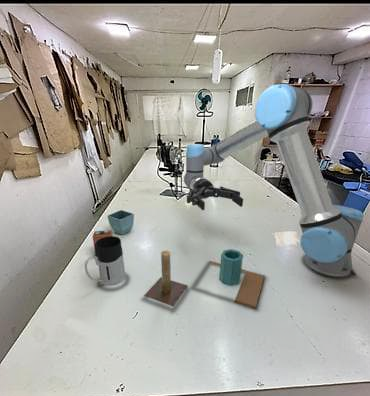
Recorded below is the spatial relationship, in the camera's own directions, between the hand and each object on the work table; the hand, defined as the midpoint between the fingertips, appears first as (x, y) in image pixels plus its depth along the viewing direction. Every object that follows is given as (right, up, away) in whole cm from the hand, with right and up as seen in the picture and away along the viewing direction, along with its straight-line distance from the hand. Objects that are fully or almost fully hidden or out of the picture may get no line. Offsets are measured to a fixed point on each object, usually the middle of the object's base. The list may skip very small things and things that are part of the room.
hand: (223, 204), depth 77 cm
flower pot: (-42, -11, +35) cm, 56 cm away
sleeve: (+2, -25, +1) cm, 25 cm away
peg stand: (-18, -28, -4) cm, 34 cm away
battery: (-44, -19, +18) cm, 51 cm away
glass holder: (-37, -27, 0) cm, 46 cm away
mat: (+2, -26, +2) cm, 26 cm away
